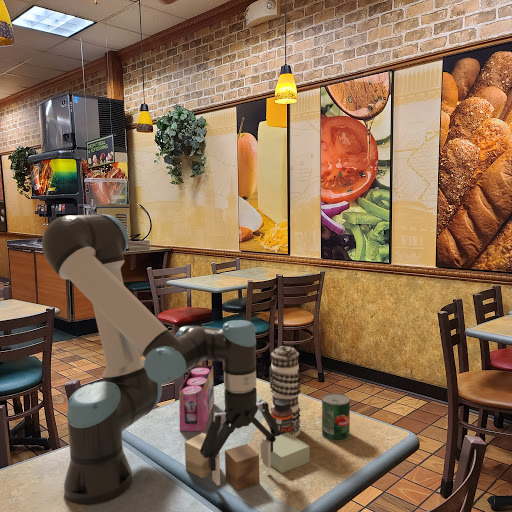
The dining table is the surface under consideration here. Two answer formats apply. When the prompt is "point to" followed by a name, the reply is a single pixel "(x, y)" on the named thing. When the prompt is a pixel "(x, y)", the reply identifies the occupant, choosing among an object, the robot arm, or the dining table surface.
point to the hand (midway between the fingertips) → (242, 473)
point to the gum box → (196, 398)
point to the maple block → (196, 456)
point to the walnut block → (242, 467)
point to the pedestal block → (288, 452)
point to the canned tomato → (335, 417)
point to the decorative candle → (286, 381)
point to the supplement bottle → (283, 416)
